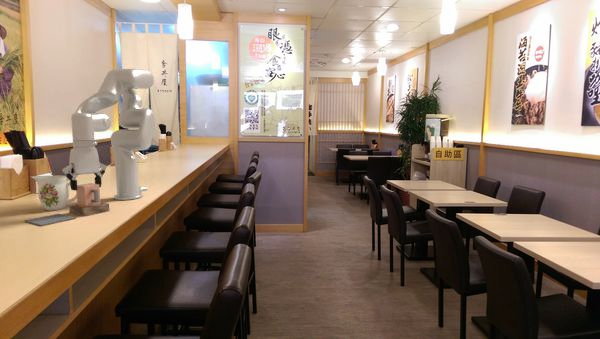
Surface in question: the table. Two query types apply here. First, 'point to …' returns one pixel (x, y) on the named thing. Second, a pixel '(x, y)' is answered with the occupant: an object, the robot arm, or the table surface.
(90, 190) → the peach block with tab
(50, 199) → the pitcher
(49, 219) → the rubber mat
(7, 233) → the table surface
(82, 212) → the frame
